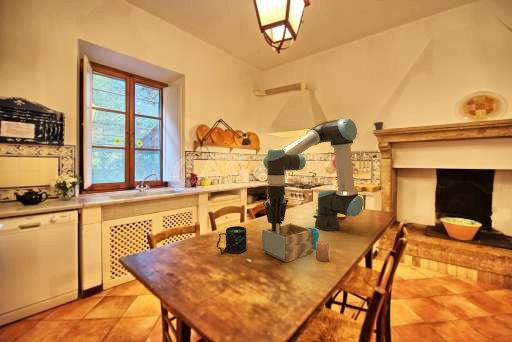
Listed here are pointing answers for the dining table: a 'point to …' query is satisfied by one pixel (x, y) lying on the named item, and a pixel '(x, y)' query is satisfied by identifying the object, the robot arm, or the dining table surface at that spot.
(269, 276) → the dining table surface
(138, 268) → the dining table surface
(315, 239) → the mug
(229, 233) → the mug
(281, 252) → the panel
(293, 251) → the crate
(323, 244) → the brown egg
